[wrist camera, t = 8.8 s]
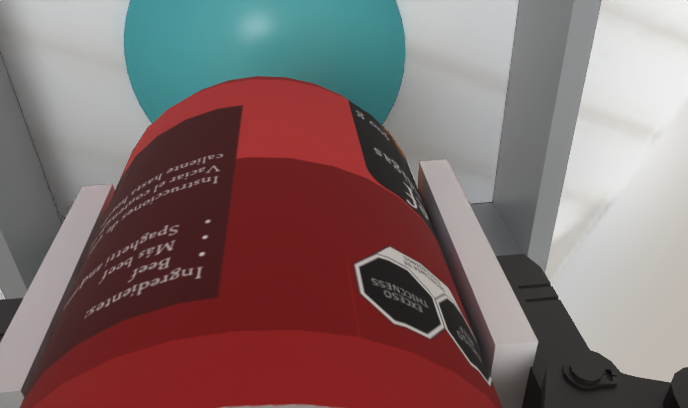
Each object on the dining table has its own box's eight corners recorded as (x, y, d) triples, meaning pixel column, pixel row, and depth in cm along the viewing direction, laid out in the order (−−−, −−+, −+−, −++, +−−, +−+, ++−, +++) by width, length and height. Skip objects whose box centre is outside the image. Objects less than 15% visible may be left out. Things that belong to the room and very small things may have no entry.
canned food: (392, 293, 20) (493, 709, 10) (143, 293, 19) (15, 754, 9) (430, 72, 15) (653, 443, 6) (112, 57, 14) (-169, 472, 5)
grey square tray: (52, 254, 30) (17, 324, 26) (-120, -191, 20) (-224, -192, 16) (508, 216, 32) (544, 276, 28) (574, -214, 21) (647, -220, 17)
